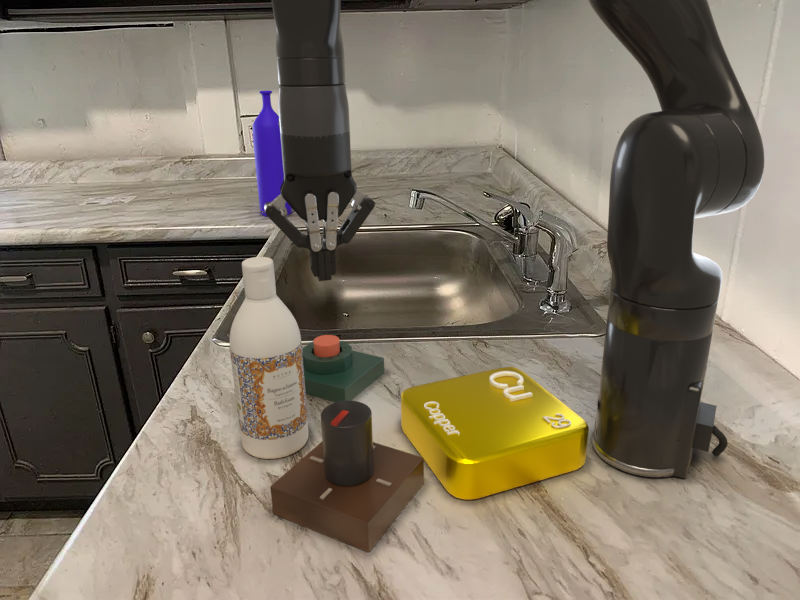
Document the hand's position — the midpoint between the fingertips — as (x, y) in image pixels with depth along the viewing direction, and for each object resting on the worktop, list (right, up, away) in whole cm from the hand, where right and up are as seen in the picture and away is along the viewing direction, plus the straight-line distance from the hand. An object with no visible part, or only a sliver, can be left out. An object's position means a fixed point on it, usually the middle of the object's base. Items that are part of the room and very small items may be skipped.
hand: (324, 278), depth 75 cm
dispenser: (0, -12, +4) cm, 13 cm away
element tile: (+18, -18, -9) cm, 27 cm away
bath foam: (-4, -18, -8) cm, 20 cm away
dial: (+4, -18, -18) cm, 26 cm away
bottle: (-23, +19, +88) cm, 93 cm away
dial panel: (+4, -21, -17) cm, 27 cm away
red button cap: (0, -9, +3) cm, 10 cm away
